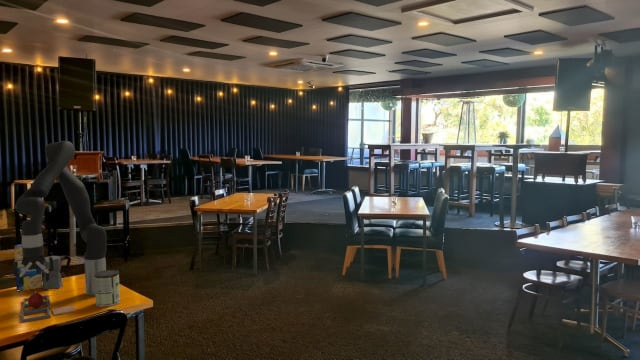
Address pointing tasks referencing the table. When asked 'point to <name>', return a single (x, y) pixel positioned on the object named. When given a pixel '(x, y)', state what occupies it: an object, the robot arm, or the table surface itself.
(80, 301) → the table surface
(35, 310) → the tray
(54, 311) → the tile
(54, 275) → the coffeepot
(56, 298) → the table surface
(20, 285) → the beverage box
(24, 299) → the tray
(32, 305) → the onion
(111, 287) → the coffee can
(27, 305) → the tray
